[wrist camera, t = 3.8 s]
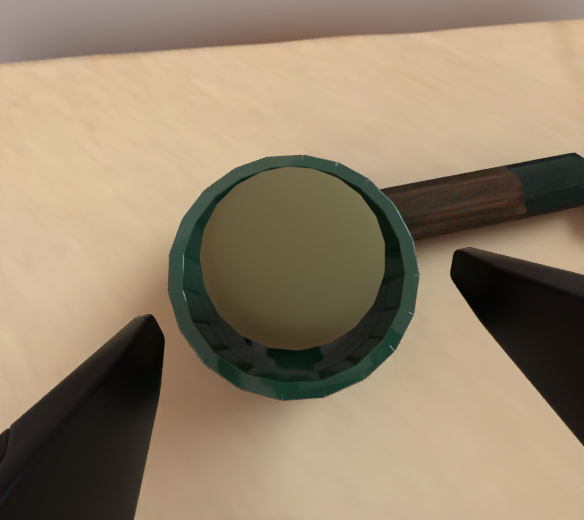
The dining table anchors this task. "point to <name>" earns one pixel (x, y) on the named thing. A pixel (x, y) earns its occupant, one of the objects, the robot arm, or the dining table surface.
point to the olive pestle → (292, 258)
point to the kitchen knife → (490, 195)
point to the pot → (283, 362)
